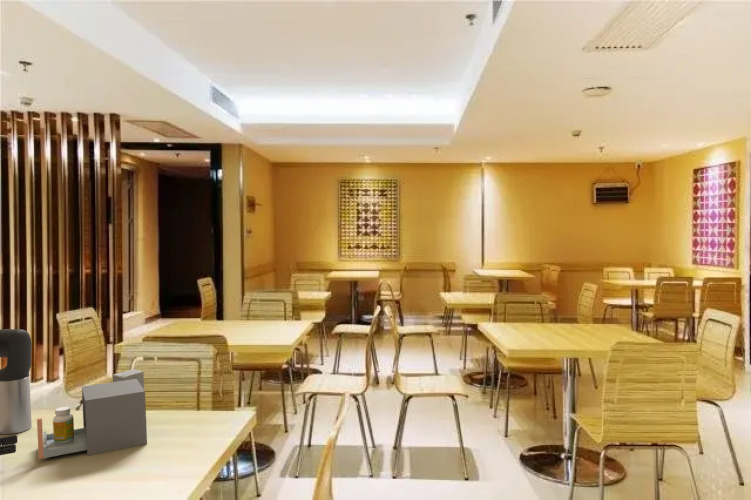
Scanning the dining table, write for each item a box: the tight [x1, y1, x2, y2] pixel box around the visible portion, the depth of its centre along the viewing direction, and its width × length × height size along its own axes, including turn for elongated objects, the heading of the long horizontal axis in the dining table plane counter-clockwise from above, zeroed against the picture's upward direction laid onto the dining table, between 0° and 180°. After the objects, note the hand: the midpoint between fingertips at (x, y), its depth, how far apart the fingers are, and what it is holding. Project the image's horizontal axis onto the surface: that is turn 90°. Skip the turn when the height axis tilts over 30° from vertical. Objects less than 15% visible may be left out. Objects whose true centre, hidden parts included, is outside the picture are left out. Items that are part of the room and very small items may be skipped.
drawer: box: [36, 417, 87, 460], centre depth 170 cm, size 15×16×11 cm
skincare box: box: [112, 368, 145, 390], centre depth 198 cm, size 8×7×16 cm
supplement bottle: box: [52, 406, 75, 444], centre depth 171 cm, size 5×5×10 cm
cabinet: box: [81, 379, 148, 456], centre depth 175 cm, size 18×16×16 cm
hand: (16, 443), depth 157 cm, fingers open, 7 cm apart
